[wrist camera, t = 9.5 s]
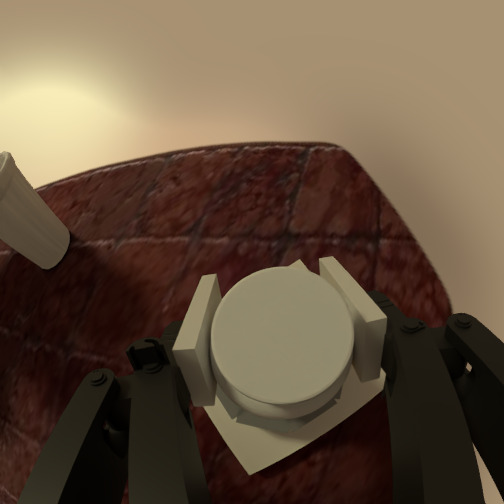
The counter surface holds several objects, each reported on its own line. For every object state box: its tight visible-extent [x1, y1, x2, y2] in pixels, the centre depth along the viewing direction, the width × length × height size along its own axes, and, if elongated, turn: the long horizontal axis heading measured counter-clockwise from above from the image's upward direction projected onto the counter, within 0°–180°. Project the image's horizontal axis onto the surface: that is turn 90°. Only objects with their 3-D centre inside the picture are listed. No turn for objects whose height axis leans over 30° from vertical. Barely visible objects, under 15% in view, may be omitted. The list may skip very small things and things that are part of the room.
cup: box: [0, 151, 70, 269], centre depth 23 cm, size 8×8×14 cm
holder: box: [203, 259, 386, 475], centre depth 19 cm, size 13×13×4 cm
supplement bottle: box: [210, 267, 354, 420], centre depth 11 cm, size 5×5×10 cm
